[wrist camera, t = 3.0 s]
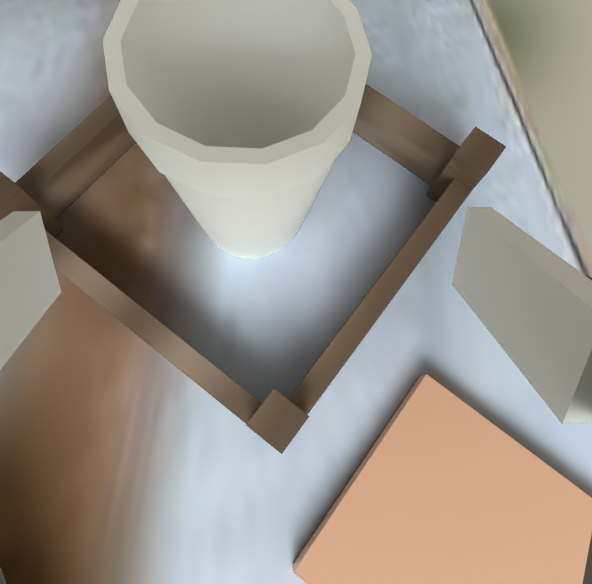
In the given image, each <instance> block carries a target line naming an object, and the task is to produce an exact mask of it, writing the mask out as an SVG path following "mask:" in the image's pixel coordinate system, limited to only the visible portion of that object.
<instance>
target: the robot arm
mask: <svg viewBox="0 0 592 584" xmlns="http://www.w3.org/2000/svg"><path fill="white" fill-rule="evenodd" d="M452 285H453V286H454V287H455V288H456V290H457V291H458V292H459V294H460V295H461V296H462V297H463V299H464V300H465V301H466V302H467V304H468V305H469V306H470V308H471V309H472V310H473V311H474V313H475V314H476V315H477V316H478V318H479V319H480V320H481V322H482V323H483V324H484V325H485V327H486V328H487V329H488V330H489V332H490V333H491V334H492V335H493V337H494V338H495V339H496V341H497V342H498V343H499V344H500V346H501V347H502V348H503V349H504V351H505V352H506V353H507V355H508V356H509V357H510V358H511V360H512V361H513V362H514V363H515V365H516V366H517V367H518V368H519V370H520V371H521V372H522V374H523V375H524V376H525V377H526V379H527V380H528V381H529V382H530V384H531V385H532V386H533V388H534V389H535V390H536V391H537V393H538V394H539V395H540V396H541V398H542V399H543V400H544V401H545V403H546V404H547V405H548V407H549V408H550V409H551V410H552V412H553V413H554V414H555V415H556V417H557V418H558V419H559V421H560V422H561V423H562V424H576V423H592V278H591V277H588V276H586V275H584V274H582V273H581V272H579V271H578V270H577V269H575V268H574V267H572V266H571V265H570V264H568V263H567V262H566V261H564V260H563V259H561V258H560V257H559V256H557V255H556V254H555V253H553V252H552V251H550V250H549V249H548V248H546V247H545V246H544V245H542V244H541V243H539V242H538V241H537V240H535V239H534V238H533V237H531V236H530V235H528V234H527V233H526V232H524V231H523V230H521V229H520V228H519V227H517V226H516V225H515V224H513V223H512V222H510V221H509V220H508V219H506V218H505V217H504V216H502V215H501V214H499V213H498V212H497V211H495V210H494V209H493V208H491V207H472V208H467V213H466V218H465V223H464V228H463V233H462V238H461V243H460V248H459V253H458V258H457V263H456V268H455V273H454V278H453V283H452ZM60 293H61V290H60V286H59V282H58V278H57V274H56V270H55V267H54V263H53V259H52V255H51V251H50V247H49V244H48V240H47V236H46V232H45V228H44V225H43V221H42V217H41V213H40V211H13V212H12V213H10V214H9V215H8V216H6V217H5V218H3V219H2V220H0V370H1V368H2V367H3V366H4V365H5V363H6V362H7V361H8V359H9V358H10V357H11V356H12V354H13V353H14V352H15V351H16V349H17V348H18V347H19V345H20V344H21V343H22V342H23V340H24V339H25V338H26V337H27V335H28V334H29V333H30V331H31V330H32V329H33V328H34V326H35V325H36V324H37V322H38V321H39V320H40V319H41V317H42V316H43V315H44V314H45V312H46V311H47V310H48V308H49V307H50V306H51V305H52V303H53V302H54V301H55V299H56V298H57V297H58V296H59V294H60ZM583 584H592V534H591V540H590V545H589V551H588V556H587V562H586V567H585V573H584V578H583Z"/></svg>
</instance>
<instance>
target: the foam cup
mask: <svg viewBox="0 0 592 584" xmlns="http://www.w3.org/2000/svg"><path fill="white" fill-rule="evenodd" d="M103 48H104V55H105V63H106V71H107V79H108V86H109V92H110V94H111V96H112V98H113V100H114V102H115V104H116V106H117V108H118V111H119V113H120V115H121V117H122V119H123V121H124V123H125V125H126V128H127V130H128V132H129V134H130V135H131V136H132V137H133V139H134V140H135V141H136V143H137V144H138V145H139V146H140V148H141V149H142V150H143V152H144V153H145V154H146V155H147V157H148V158H149V159H150V161H151V162H152V163H153V164H154V166H155V167H156V168H157V170H158V171H159V172H160V173H162V174H164V175H165V176H166V178H167V179H168V180H169V182H170V183H171V185H172V186H173V188H174V189H175V190H176V192H177V193H178V195H179V196H180V198H181V199H182V200H183V202H184V203H185V205H186V206H187V208H188V209H189V210H190V212H191V213H192V215H193V216H194V218H195V219H196V220H197V222H198V223H199V225H200V226H201V227H202V229H203V230H204V231H205V233H206V234H207V235H208V236H209V238H210V239H211V240H212V242H213V243H214V244H215V245H216V247H217V248H219V249H221V250H223V251H225V252H227V253H229V254H231V255H233V256H235V257H237V258H264V257H266V256H269V255H271V254H273V253H276V252H278V251H281V250H283V249H284V247H285V246H286V245H287V244H288V243H289V242H290V241H291V240H292V239H293V237H294V236H295V235H296V234H297V232H298V231H299V229H300V227H301V225H302V223H303V221H304V219H305V218H306V216H307V214H308V212H309V210H310V208H311V206H312V204H313V202H314V200H315V198H316V196H317V194H318V192H319V190H320V188H321V186H322V184H323V182H324V180H325V179H326V177H327V175H328V173H329V171H330V169H331V167H332V165H333V163H334V161H335V159H336V157H337V156H338V155H339V153H340V152H341V151H342V150H343V149H344V148H345V147H346V146H347V145H348V144H349V142H350V139H351V136H352V132H353V129H354V125H355V122H356V118H357V115H358V111H359V108H360V105H361V101H362V96H363V92H364V88H365V84H366V79H367V75H368V71H369V67H370V62H371V58H372V53H371V50H370V46H369V43H368V40H367V37H366V34H365V31H364V27H363V24H362V21H361V18H360V15H359V12H358V9H357V8H356V7H355V6H354V5H353V4H352V3H351V2H350V1H349V0H121V1H120V3H119V5H118V7H117V10H116V12H115V14H114V16H113V18H112V21H111V23H110V25H109V27H108V29H107V32H106V34H105V36H104V38H103Z"/></svg>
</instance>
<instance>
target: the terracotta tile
mask: <svg viewBox="0 0 592 584" xmlns="http://www.w3.org/2000/svg"><path fill="white" fill-rule="evenodd" d="M591 534H592V498H591V497H590V496H589V495H587V494H586V493H585V492H583V491H582V490H581V489H579V488H578V487H577V486H575V485H574V484H573V483H571V482H570V481H569V480H567V479H566V478H565V477H563V476H562V475H561V474H559V473H558V472H557V471H555V470H554V469H553V468H551V467H550V466H549V465H547V464H546V463H545V462H543V461H542V460H541V459H539V458H538V457H537V456H535V455H534V454H533V453H531V452H530V451H529V450H527V449H526V448H525V447H523V446H522V445H521V444H519V443H518V442H517V441H515V440H514V439H513V438H511V437H510V436H509V435H507V434H506V433H505V432H503V431H502V430H501V429H499V428H498V427H497V426H495V425H494V424H493V423H491V422H490V421H489V420H487V419H486V418H485V417H483V416H482V415H481V414H479V413H478V412H477V411H475V410H474V409H473V408H471V407H470V406H468V405H467V404H466V403H464V402H463V401H462V400H460V399H459V398H458V397H456V396H455V395H454V394H452V393H451V392H450V391H448V390H447V389H446V388H444V387H443V386H442V385H440V384H439V383H438V382H436V381H435V380H434V379H432V378H431V377H430V376H428V375H427V374H425V375H422V376H420V377H419V378H418V379H417V381H416V382H415V384H414V385H413V387H412V388H411V390H410V391H409V393H408V394H407V396H406V397H405V399H404V400H403V402H402V403H401V405H400V406H399V408H398V409H397V411H396V412H395V414H394V415H393V417H392V418H391V420H390V421H389V422H388V424H387V425H386V427H385V428H384V430H383V431H382V433H381V434H380V436H379V437H378V439H377V440H376V442H375V443H374V445H373V446H372V448H371V449H370V451H369V452H368V454H367V455H366V457H365V458H364V460H363V461H362V463H361V464H360V465H359V467H358V468H357V470H356V471H355V473H354V474H353V476H352V477H351V479H350V480H349V482H348V483H347V485H346V486H345V488H344V489H343V491H342V492H341V494H340V495H339V497H338V498H337V500H336V501H335V503H334V504H333V506H332V507H331V509H330V510H329V511H328V513H327V514H326V516H325V517H324V519H323V520H322V522H321V523H320V525H319V526H318V528H317V529H316V531H315V532H314V534H313V535H312V537H311V538H310V540H309V541H308V543H307V544H306V546H305V547H304V549H303V550H302V552H301V553H300V554H299V556H298V557H297V559H296V560H295V562H294V563H293V565H292V566H293V571H294V573H295V574H296V575H297V576H299V577H300V578H301V579H302V580H303V581H305V582H306V583H307V584H583V578H584V573H585V567H586V562H587V556H588V551H589V545H590V540H591Z"/></svg>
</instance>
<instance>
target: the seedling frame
mask: <svg viewBox="0 0 592 584" xmlns="http://www.w3.org/2000/svg"><path fill="white" fill-rule="evenodd" d="M353 132H354V133H356V134H357V135H359V136H360V137H361V138H363V139H364V140H366V141H367V142H369V143H370V144H372V145H373V146H375V147H376V148H378V149H379V150H380V151H382V152H383V153H385V154H386V155H388V156H389V157H391V158H392V159H394V160H395V161H396V162H398V163H399V164H401V165H402V166H404V167H405V168H407V169H408V170H410V171H411V172H412V173H414V174H415V175H417V176H418V177H420V178H421V179H423V180H424V181H426V182H427V183H428V184H430V185H431V186H432V188H431V189H430V191H429V192H428V193H427V196H428V197H430V198H431V199H433V200H434V201H436V204H435V205H434V206H433V208H432V209H431V210H430V212H429V213H428V214H427V216H426V217H425V218H424V220H423V221H422V222H421V224H420V225H419V226H418V228H417V229H416V230H415V232H414V233H413V234H412V236H411V237H410V238H409V240H408V241H407V242H406V244H405V245H404V246H403V247H402V249H401V250H400V251H399V253H398V254H397V255H396V257H395V258H394V259H393V261H392V262H391V263H390V265H389V266H388V267H387V269H386V270H385V271H384V273H383V274H382V275H381V277H380V278H379V279H378V281H377V282H376V283H375V285H374V286H373V287H372V289H371V290H370V291H369V293H368V294H367V295H366V297H365V298H364V299H363V301H362V302H361V303H360V305H359V306H358V307H357V309H356V310H355V311H354V312H353V314H352V315H351V316H350V318H349V319H348V320H347V322H346V323H345V324H344V326H343V327H342V328H341V330H340V331H339V332H338V334H337V335H336V336H335V338H334V339H333V340H332V342H331V343H330V344H329V346H328V347H327V348H326V350H325V351H324V352H323V354H322V355H321V356H320V358H319V359H318V360H317V362H316V363H315V364H314V366H313V367H312V368H311V370H310V371H309V372H308V374H307V375H306V376H305V377H304V379H303V380H302V381H301V383H300V384H299V385H298V387H297V388H296V389H295V391H294V392H293V393H292V395H291V396H290V397H289V399H287V398H285V397H284V396H283V395H282V394H280V393H279V392H278V391H277V390H275V389H273V391H272V392H271V393H270V394H269V396H268V397H267V398H266V400H265V401H264V402H263V404H262V403H260V402H259V401H258V400H257V399H255V398H254V397H253V396H252V395H250V394H249V393H248V392H247V391H245V390H244V389H243V388H242V387H240V386H239V385H238V384H237V383H235V382H234V381H233V380H232V379H230V378H229V377H228V376H227V375H225V374H224V373H223V372H222V371H220V370H219V369H218V368H217V367H215V366H214V365H213V364H212V363H210V362H209V361H208V360H207V359H206V358H204V357H203V356H202V355H201V354H199V353H198V352H197V351H196V350H194V349H193V348H192V347H191V346H189V345H188V344H187V343H186V342H184V341H183V340H182V339H181V338H179V337H178V336H177V335H176V334H174V333H173V332H172V331H171V330H169V329H168V328H167V327H166V326H164V325H163V324H162V323H161V322H159V321H158V320H157V319H156V318H154V317H153V316H152V315H151V314H149V313H148V312H147V311H146V310H144V309H143V308H142V307H141V306H139V305H138V304H137V303H136V302H134V301H133V300H132V299H131V298H129V297H128V296H127V295H126V294H124V293H123V292H122V291H121V290H119V289H118V288H117V287H116V286H114V285H113V284H112V283H111V282H109V281H108V280H107V279H106V278H104V277H103V276H102V275H101V274H99V273H98V272H97V271H96V270H94V269H93V268H92V267H91V266H89V265H88V264H87V263H86V262H84V261H83V260H82V259H81V258H79V257H78V256H77V255H76V254H74V253H73V252H72V251H71V250H69V249H68V248H67V247H66V246H65V245H63V244H62V243H61V242H60V241H58V240H57V239H56V238H55V236H56V235H57V234H59V233H60V232H61V231H62V230H63V228H62V227H61V226H60V225H59V224H58V223H57V222H56V221H55V219H56V218H57V217H58V216H59V215H61V214H62V213H63V212H64V211H65V210H66V209H67V208H68V207H69V206H70V205H71V204H72V203H73V202H74V201H75V200H76V199H77V198H78V197H79V196H80V195H81V194H82V193H83V192H84V191H86V190H87V189H88V188H89V187H90V186H91V185H92V184H93V183H94V182H95V181H96V180H97V179H98V178H99V177H100V176H101V175H102V174H103V173H104V172H105V171H106V170H107V169H108V168H109V167H110V166H112V165H113V164H114V163H115V162H116V161H117V160H118V159H119V158H120V157H121V156H122V155H123V154H124V153H125V152H126V151H127V150H128V149H129V148H130V147H131V146H132V145H133V144H134V143H135V142H136V141H135V140H134V139H133V137H132V136H131V135H130V134H129V132H128V130H127V128H126V125H125V123H124V121H123V119H122V117H121V115H120V113H119V111H118V108H117V106H116V104H115V102H114V100H113V98H112V96H111V97H110V98H108V99H107V100H106V101H105V102H104V103H103V104H102V105H101V106H100V107H98V108H97V109H96V110H95V111H94V112H93V113H92V114H91V115H90V116H89V117H87V118H86V119H85V120H84V121H83V122H82V123H81V124H80V125H79V126H78V127H76V128H75V129H74V130H73V131H72V132H71V133H70V134H69V135H68V136H66V137H65V138H64V139H63V140H62V141H61V142H60V143H59V144H58V145H57V146H55V147H54V148H53V149H52V150H51V151H50V152H49V153H48V154H47V155H45V156H44V157H43V158H42V159H41V160H40V161H39V162H38V163H37V164H36V165H34V166H33V167H32V168H31V169H30V170H29V171H28V172H27V173H26V174H25V175H23V176H22V177H21V178H20V179H19V180H18V181H17V182H16V183H14V182H13V181H12V180H10V179H9V178H8V177H7V176H5V175H4V174H3V173H2V172H0V220H2V219H3V218H5V217H6V216H8V215H9V214H10V213H12V212H13V211H40V213H41V217H42V221H43V225H44V228H45V232H46V236H47V240H48V244H49V247H50V251H51V255H52V259H53V263H54V267H55V269H56V270H58V271H59V272H60V273H61V274H63V275H64V276H65V277H66V278H67V279H69V280H70V281H71V282H72V283H74V284H75V285H76V286H77V287H79V288H80V289H81V290H82V291H83V292H85V293H86V294H87V295H88V296H90V297H91V298H92V299H93V300H95V301H96V302H97V303H98V304H99V305H101V306H102V307H103V308H104V309H106V310H107V311H108V312H109V313H111V314H112V315H113V316H114V317H115V318H117V319H118V320H119V321H120V322H122V323H123V324H124V325H125V326H127V327H128V328H129V329H130V330H131V331H133V332H134V333H135V334H136V335H138V336H139V337H140V338H141V339H143V340H144V341H145V342H146V343H147V344H149V345H150V346H151V347H152V348H154V349H155V350H156V351H157V352H159V353H160V354H161V355H162V356H163V357H165V358H166V359H167V360H168V361H170V362H171V363H172V364H173V365H175V366H176V367H177V368H178V369H179V370H181V371H182V372H183V373H184V374H186V375H187V376H188V377H189V378H191V379H192V380H193V381H194V382H195V383H197V384H198V385H199V386H200V387H202V388H203V389H204V390H205V391H207V392H208V393H209V394H210V395H211V396H213V397H214V398H215V399H216V400H218V401H219V402H220V403H221V404H223V405H224V406H225V407H226V408H227V409H229V410H230V411H231V412H232V413H234V414H235V415H236V416H237V417H239V418H240V419H241V420H242V421H243V422H245V423H246V425H247V426H248V427H249V428H250V429H252V430H253V431H254V432H255V433H257V434H258V435H259V436H260V437H261V438H263V439H264V440H265V441H266V442H268V443H269V444H270V445H271V446H273V447H274V448H275V449H276V450H277V451H279V452H280V453H281V454H282V453H283V451H284V450H285V449H286V447H287V446H288V445H289V443H290V442H291V441H292V439H293V438H294V436H295V435H296V434H297V432H298V431H299V430H300V428H301V427H302V425H303V424H304V423H305V421H306V420H307V419H308V417H309V416H308V413H309V412H310V411H311V409H312V408H313V406H314V405H315V404H316V402H317V401H318V400H319V398H320V397H321V395H322V394H323V393H324V391H325V390H326V389H327V387H328V386H329V385H330V383H331V382H332V380H333V379H334V378H335V376H336V375H337V374H338V372H339V371H340V370H341V368H342V367H343V365H344V364H345V363H346V361H347V360H348V359H349V357H350V356H351V355H352V353H353V352H354V350H355V349H356V348H357V346H358V345H359V344H360V342H361V341H362V340H363V338H364V337H365V335H366V334H367V333H368V331H369V330H370V329H371V327H372V326H373V325H374V323H375V322H376V320H377V319H378V318H379V316H380V315H381V314H382V312H383V311H384V310H385V308H386V307H387V305H388V304H389V303H390V301H391V300H392V299H393V297H394V296H395V295H396V293H397V292H398V290H399V289H400V288H401V286H402V285H403V284H404V282H405V281H406V280H407V278H408V277H409V275H410V274H411V273H412V271H413V270H414V269H415V267H416V266H417V264H418V263H419V262H420V260H421V259H422V258H423V256H424V255H425V254H426V252H427V251H428V249H429V248H430V247H431V245H432V244H433V243H434V241H435V240H436V239H437V237H438V236H439V234H440V233H441V232H442V230H443V229H444V228H445V226H446V225H447V224H448V222H449V221H450V219H451V218H452V217H453V215H454V214H455V213H456V211H457V210H458V209H459V207H460V206H461V204H462V203H463V202H464V200H465V199H466V198H467V196H468V195H469V194H470V192H471V191H472V190H473V188H474V187H475V186H476V185H477V184H478V183H479V181H480V180H481V179H482V178H483V177H484V176H485V175H486V173H487V172H488V171H489V170H490V168H491V167H492V165H493V164H494V163H495V161H496V160H497V159H498V157H499V156H500V155H501V153H502V152H503V150H504V149H505V148H506V146H504V145H503V144H501V143H500V142H498V141H497V140H495V139H494V138H492V137H491V136H489V135H488V134H486V133H485V132H483V131H481V130H480V129H478V128H477V127H475V128H474V129H473V131H472V132H471V133H470V134H469V136H468V137H467V138H466V140H465V141H464V142H463V144H462V145H461V146H458V145H457V144H455V143H454V142H452V141H451V140H449V139H448V138H446V137H445V136H443V135H442V134H440V133H439V132H437V131H436V130H434V129H433V128H431V127H430V126H428V125H427V124H425V123H424V122H422V121H421V120H419V119H418V118H416V117H415V116H413V115H412V114H410V113H409V112H407V111H406V110H404V109H403V108H401V107H400V106H398V105H397V104H395V103H394V102H392V101H391V100H389V99H388V98H386V97H385V96H383V95H382V94H380V93H379V92H377V91H376V90H374V89H373V88H371V87H370V86H368V85H367V84H365V88H364V92H363V96H362V101H361V105H360V108H359V111H358V115H357V118H356V122H355V125H354V129H353Z"/></svg>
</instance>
